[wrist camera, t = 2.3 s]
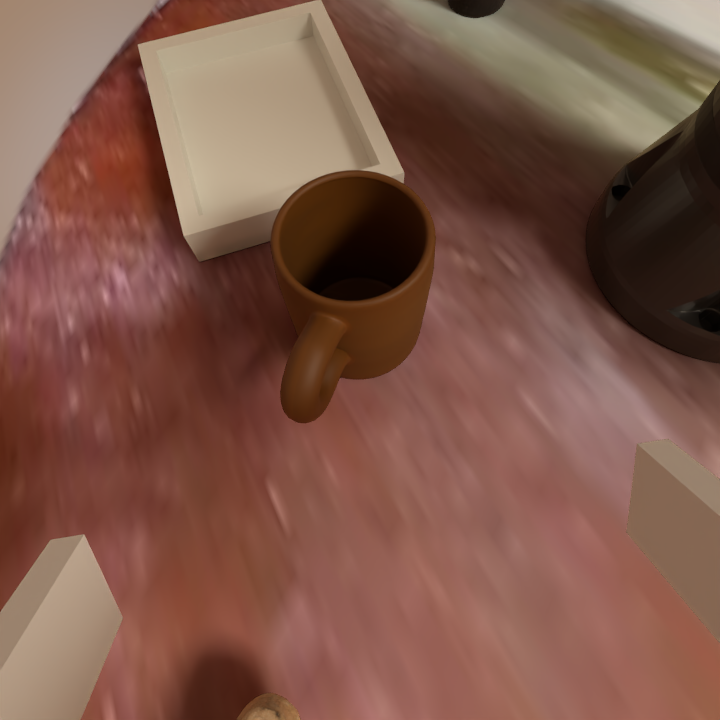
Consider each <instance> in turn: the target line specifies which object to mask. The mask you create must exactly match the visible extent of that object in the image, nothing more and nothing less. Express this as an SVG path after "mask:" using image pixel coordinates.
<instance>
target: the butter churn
mask: <svg viewBox="0 0 720 720" xmlns="http://www.w3.org/2000/svg"><path fill="white" fill-rule="evenodd" d="M504 1H505V0H448V2H449V6H450V7H451V8H453V10H454V11H455V12H456V13H459V14H461V15H463V16H467V17H474V18H478V17H483V16H486V15H490V14H493V13H494V12H496V11H498V9H500V8H501V7H502V5H503V3H504Z"/></svg>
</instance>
